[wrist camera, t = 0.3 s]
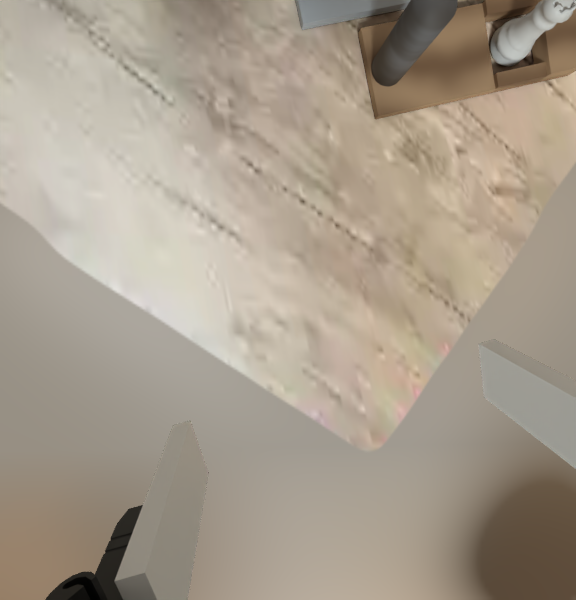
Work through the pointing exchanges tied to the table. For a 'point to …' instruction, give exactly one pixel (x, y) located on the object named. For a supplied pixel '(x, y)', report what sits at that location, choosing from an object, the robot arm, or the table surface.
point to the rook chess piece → (528, 30)
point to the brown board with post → (453, 54)
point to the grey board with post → (342, 10)
